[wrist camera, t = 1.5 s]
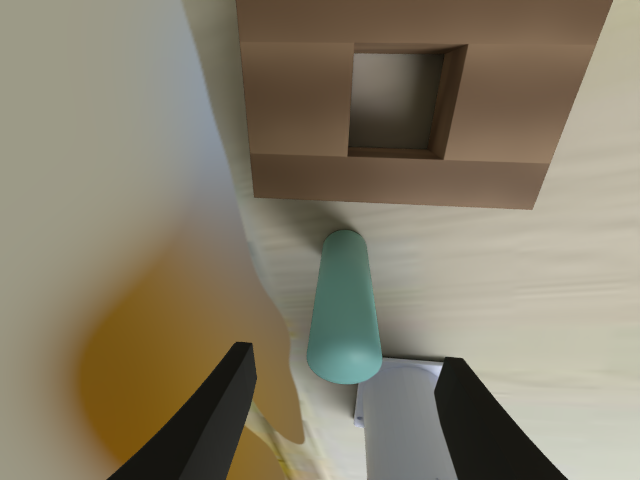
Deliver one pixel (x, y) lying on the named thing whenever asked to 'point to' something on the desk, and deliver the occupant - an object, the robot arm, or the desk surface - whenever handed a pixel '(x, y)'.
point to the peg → (344, 313)
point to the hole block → (451, 104)
